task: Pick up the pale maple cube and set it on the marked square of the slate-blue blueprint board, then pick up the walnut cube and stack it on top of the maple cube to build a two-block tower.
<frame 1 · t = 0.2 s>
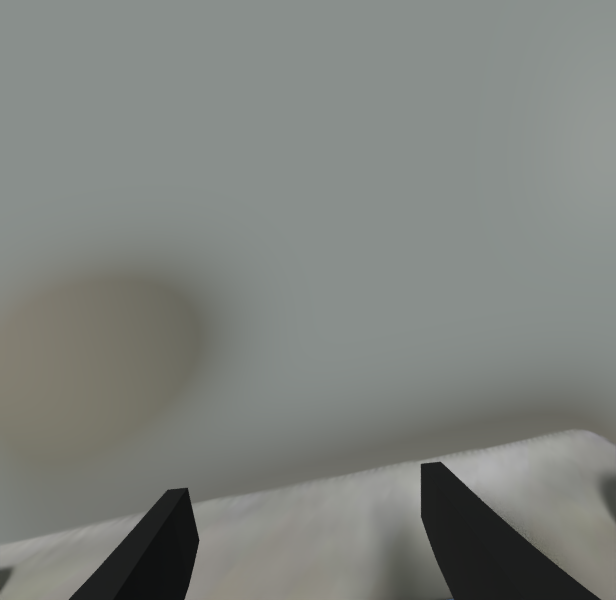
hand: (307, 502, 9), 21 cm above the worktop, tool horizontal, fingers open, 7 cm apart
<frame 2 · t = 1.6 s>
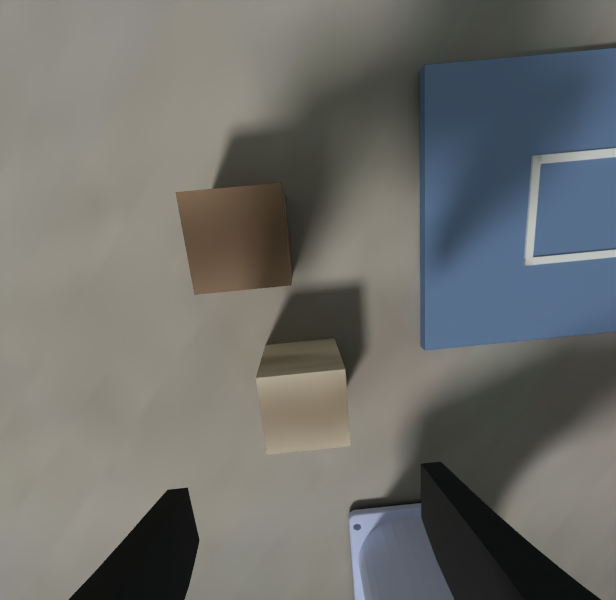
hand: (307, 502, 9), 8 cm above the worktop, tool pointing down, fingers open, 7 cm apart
walnut block: (251, 239, 15), on the worktop
maple block: (303, 372, 17), on the worktop
blueprint board: (568, 209, 15), on the worktop
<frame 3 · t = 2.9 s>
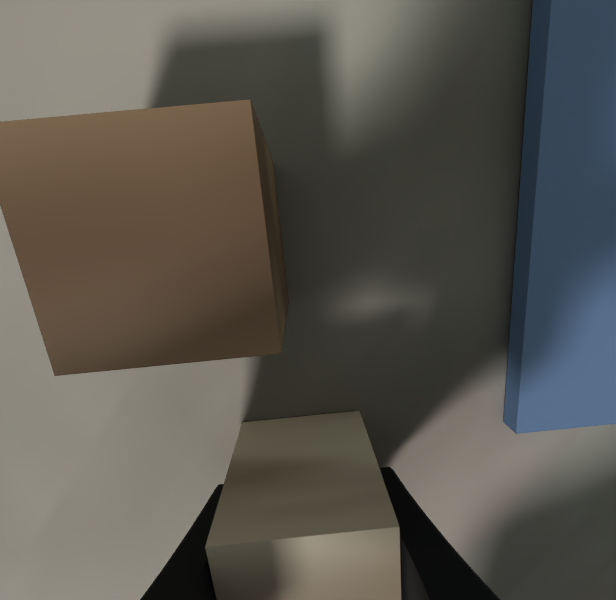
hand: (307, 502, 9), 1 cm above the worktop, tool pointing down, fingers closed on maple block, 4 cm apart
walnut block: (214, 242, 9), on the worktop
maple block: (306, 465, 10), on the worktop, touching gripper
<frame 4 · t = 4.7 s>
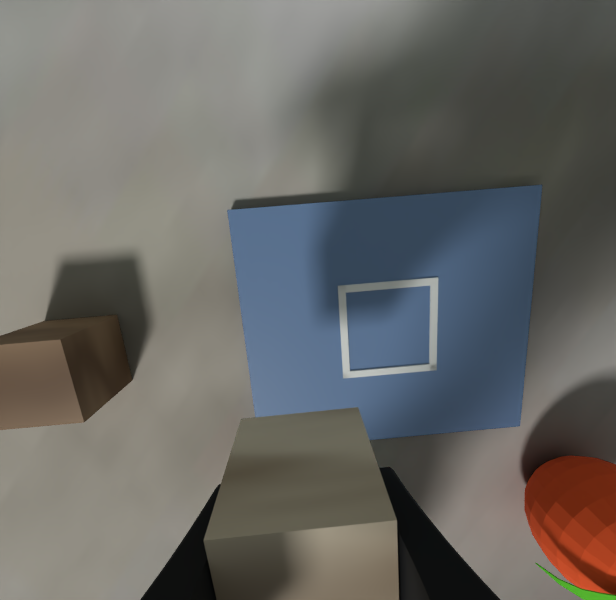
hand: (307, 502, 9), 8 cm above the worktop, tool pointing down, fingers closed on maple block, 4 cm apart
walnut block: (90, 350, 17), on the worktop
maple block: (305, 462, 10), point 7 cm above the worktop, touching gripper
clementine: (538, 475, 20), on the worktop
blueprint board: (385, 325, 17), on the worktop
when the fingers open (3 cm above the worktop, at t = 6.6 s): maple block stays where it is, resting on blueprint board.
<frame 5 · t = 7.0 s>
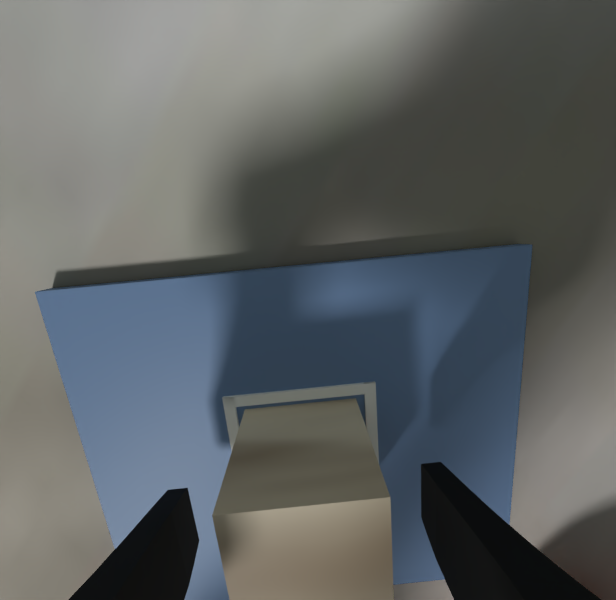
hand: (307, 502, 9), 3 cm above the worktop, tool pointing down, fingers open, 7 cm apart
maple block: (305, 451, 11), point 1 cm above the worktop, touching blueprint board
blueprint board: (305, 442, 11), on the worktop
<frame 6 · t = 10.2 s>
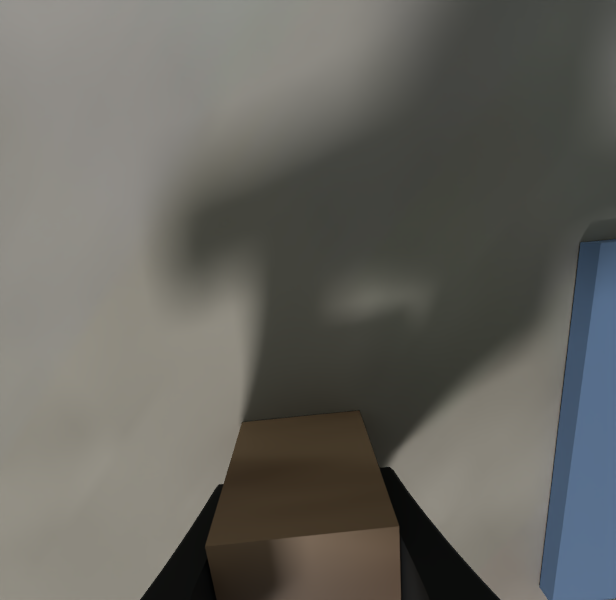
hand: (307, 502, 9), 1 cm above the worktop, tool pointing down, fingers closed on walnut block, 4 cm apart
walnut block: (306, 465, 10), on the worktop, touching gripper
when the fingers open (7 cm above the worktop, at t = 13.9 s): walnut block stays where it is, resting on maple block.
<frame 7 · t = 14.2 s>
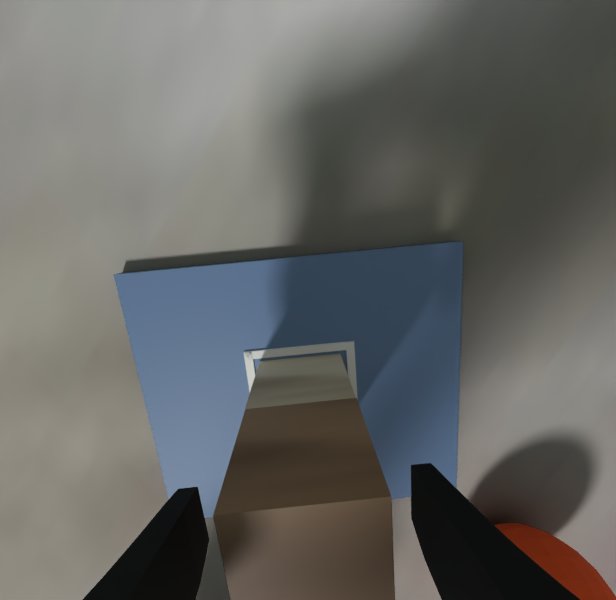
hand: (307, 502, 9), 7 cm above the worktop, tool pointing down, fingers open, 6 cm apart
walnut block: (306, 450, 11), point 5 cm above the worktop, touching maple block
maple block: (303, 393, 15), point 1 cm above the worktop, touching blueprint board, walnut block
clementine: (483, 537, 18), on the worktop
blueprint board: (303, 389, 15), on the worktop
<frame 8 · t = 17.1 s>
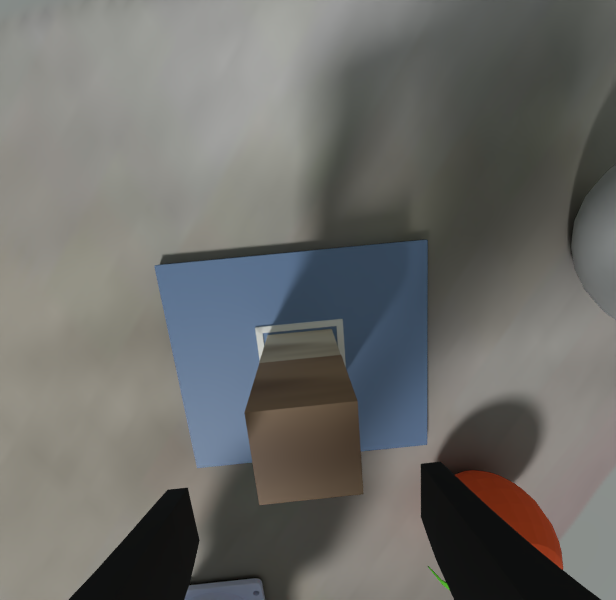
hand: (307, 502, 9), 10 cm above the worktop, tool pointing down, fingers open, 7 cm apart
walnut block: (304, 395, 14), point 5 cm above the worktop, touching maple block
donut: (580, 240, 18), on the worktop
maple block: (302, 361, 18), point 1 cm above the worktop, touching blueprint board, walnut block
clementine: (452, 486, 22), on the worktop
blueprint board: (302, 359, 19), on the worktop
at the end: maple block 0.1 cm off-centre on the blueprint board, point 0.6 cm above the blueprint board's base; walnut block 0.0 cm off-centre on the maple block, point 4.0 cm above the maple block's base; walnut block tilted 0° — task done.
